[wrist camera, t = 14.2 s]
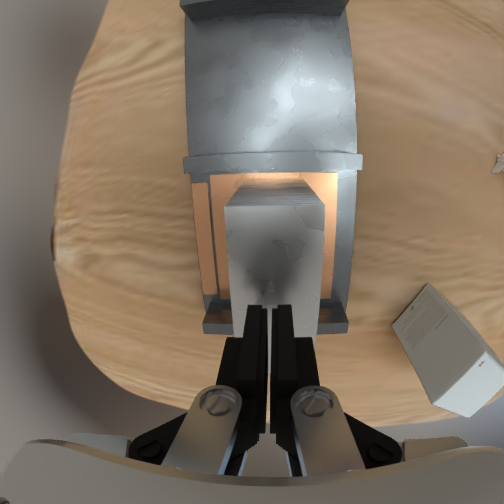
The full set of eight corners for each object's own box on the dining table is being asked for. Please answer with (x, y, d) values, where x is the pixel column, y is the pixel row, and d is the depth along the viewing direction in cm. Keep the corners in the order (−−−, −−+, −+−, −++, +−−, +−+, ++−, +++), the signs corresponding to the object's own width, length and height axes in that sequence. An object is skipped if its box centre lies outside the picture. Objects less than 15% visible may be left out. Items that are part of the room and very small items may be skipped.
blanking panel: (303, 178, 19) (325, 205, 11) (300, 293, 23) (311, 373, 14) (245, 179, 20) (223, 206, 11) (250, 293, 23) (237, 373, 14)
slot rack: (322, -74, 11) (328, -96, 7) (343, 305, 24) (353, 332, 20) (193, -68, 12) (182, -90, 8) (208, 306, 25) (197, 333, 21)
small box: (389, 324, 25) (429, 405, 15) (427, 280, 23) (486, 350, 13) (431, 351, 26) (467, 420, 16) (464, 315, 24) (513, 377, 14)
